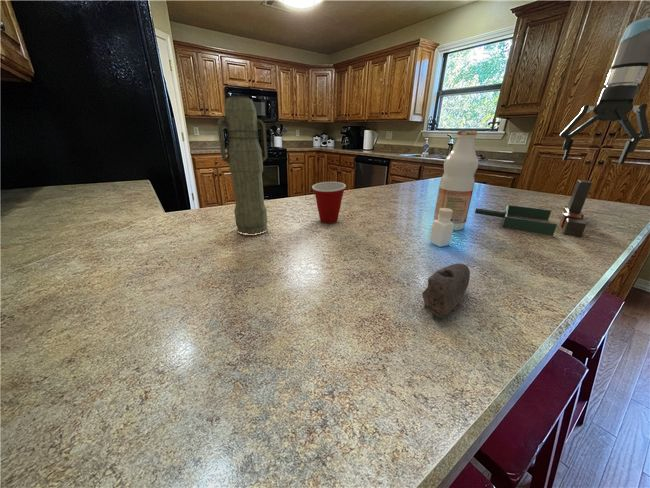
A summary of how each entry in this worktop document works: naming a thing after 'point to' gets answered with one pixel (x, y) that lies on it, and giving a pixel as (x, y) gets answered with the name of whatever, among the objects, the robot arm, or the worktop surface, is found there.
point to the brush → (578, 198)
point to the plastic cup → (329, 200)
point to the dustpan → (523, 223)
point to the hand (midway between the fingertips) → (591, 161)
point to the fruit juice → (458, 179)
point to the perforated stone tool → (446, 289)
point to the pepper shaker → (442, 228)
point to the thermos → (245, 163)
